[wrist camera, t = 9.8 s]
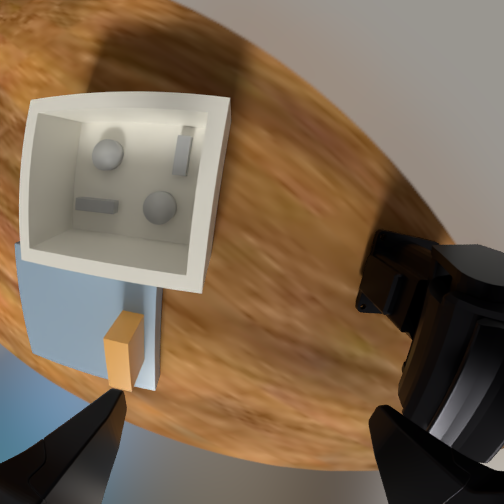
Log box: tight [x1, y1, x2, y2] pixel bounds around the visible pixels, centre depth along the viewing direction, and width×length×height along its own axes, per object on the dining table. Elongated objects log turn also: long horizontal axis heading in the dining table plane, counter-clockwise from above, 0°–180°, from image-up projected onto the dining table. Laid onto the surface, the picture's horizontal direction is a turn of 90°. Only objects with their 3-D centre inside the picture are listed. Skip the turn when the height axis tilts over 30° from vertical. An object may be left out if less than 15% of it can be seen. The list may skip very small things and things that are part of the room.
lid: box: [15, 241, 163, 392], centre depth 17 cm, size 12×10×6 cm
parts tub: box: [19, 92, 231, 293], centre depth 14 cm, size 11×9×6 cm
